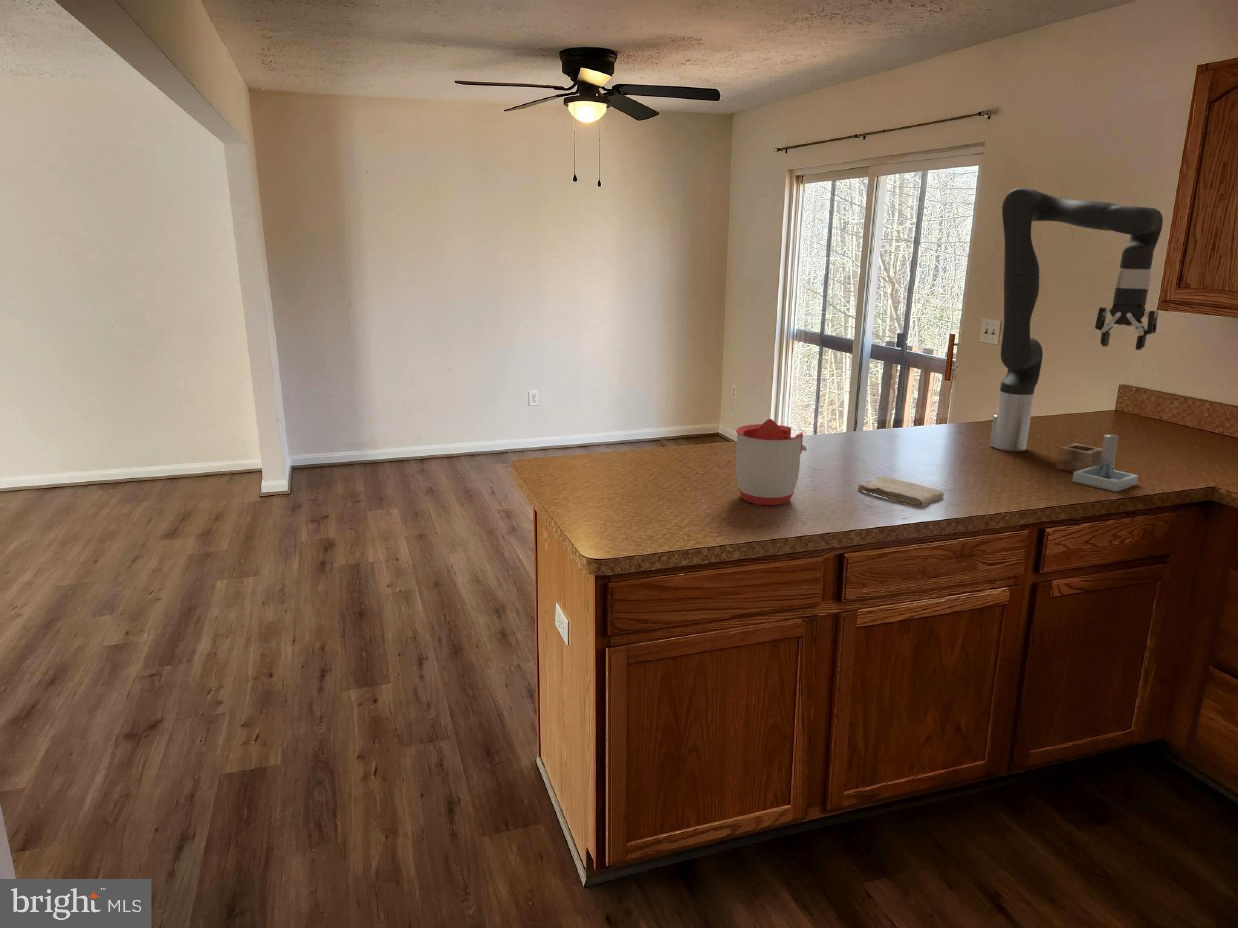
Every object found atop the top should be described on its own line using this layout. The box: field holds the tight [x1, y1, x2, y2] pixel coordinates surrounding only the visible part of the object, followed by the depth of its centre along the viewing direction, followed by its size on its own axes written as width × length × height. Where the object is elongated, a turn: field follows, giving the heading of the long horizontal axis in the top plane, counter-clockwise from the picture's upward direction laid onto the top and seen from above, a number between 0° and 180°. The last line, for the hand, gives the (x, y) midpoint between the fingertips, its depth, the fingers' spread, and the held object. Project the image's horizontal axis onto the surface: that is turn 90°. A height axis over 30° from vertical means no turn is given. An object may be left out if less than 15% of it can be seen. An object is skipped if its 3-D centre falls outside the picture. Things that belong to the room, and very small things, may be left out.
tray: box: [1071, 466, 1139, 493], centre depth 211 cm, size 11×11×2 cm
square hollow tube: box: [1056, 443, 1102, 473], centre depth 223 cm, size 8×8×6 cm
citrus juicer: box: [735, 418, 807, 506], centre depth 194 cm, size 16×17×20 cm
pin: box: [1098, 433, 1119, 480], centre depth 210 cm, size 3×3×12 cm
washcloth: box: [857, 475, 945, 508], centre depth 200 cm, size 12×18×3 cm, turn 43°
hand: (1121, 348), depth 218 cm, fingers open, 8 cm apart
